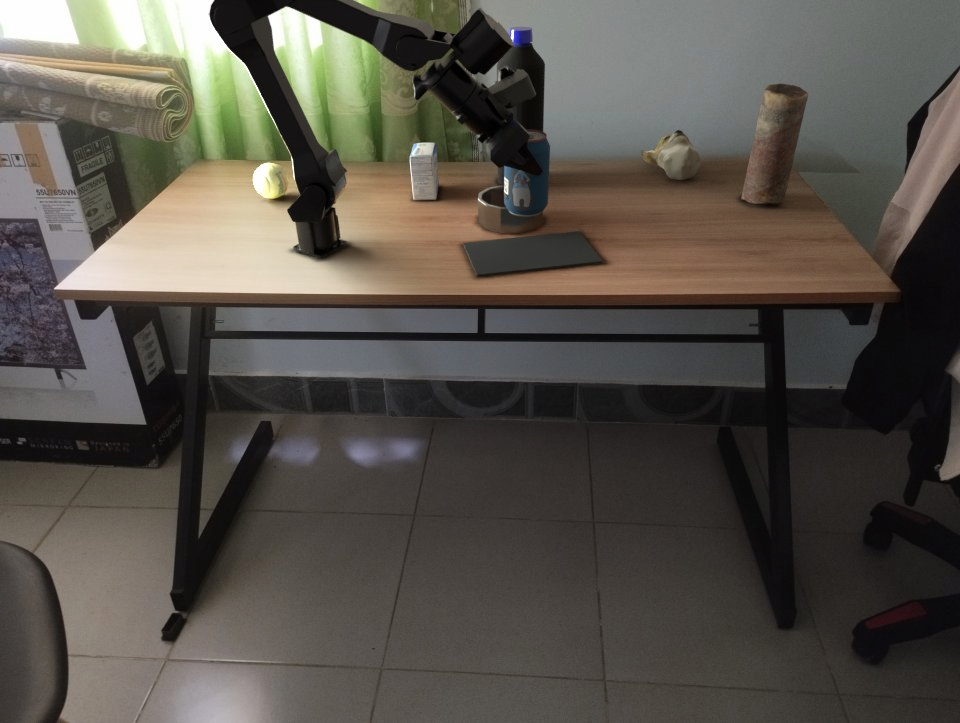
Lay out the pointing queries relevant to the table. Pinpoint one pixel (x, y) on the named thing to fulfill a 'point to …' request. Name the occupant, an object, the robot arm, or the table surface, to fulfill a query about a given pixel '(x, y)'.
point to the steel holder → (502, 214)
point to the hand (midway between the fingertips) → (535, 165)
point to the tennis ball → (271, 180)
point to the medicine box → (424, 171)
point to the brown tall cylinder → (774, 144)
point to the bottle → (534, 66)
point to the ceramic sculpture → (675, 156)
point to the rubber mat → (530, 253)
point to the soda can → (529, 180)
